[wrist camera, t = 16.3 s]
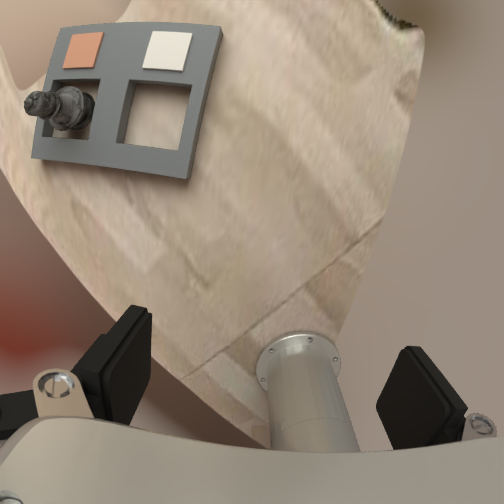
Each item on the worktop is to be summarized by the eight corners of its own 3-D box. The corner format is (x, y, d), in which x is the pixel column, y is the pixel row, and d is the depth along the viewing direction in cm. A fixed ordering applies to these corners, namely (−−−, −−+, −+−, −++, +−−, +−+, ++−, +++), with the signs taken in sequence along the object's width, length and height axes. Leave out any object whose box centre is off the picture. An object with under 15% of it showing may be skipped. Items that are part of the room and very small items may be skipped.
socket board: (190, 177, 37) (185, 179, 34) (41, 157, 36) (29, 158, 33) (222, 33, 32) (220, 25, 29) (69, 32, 31) (59, 27, 28)
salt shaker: (101, 120, 35) (49, 112, 23) (67, 138, 35) (11, 138, 24) (92, 82, 33) (40, 64, 22) (58, 102, 34) (3, 92, 22)
